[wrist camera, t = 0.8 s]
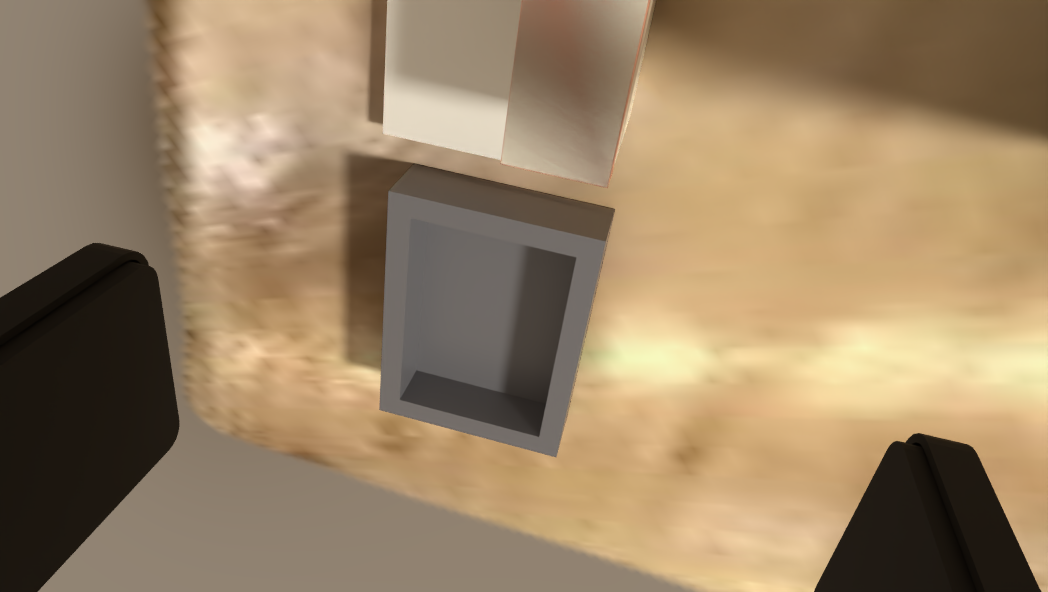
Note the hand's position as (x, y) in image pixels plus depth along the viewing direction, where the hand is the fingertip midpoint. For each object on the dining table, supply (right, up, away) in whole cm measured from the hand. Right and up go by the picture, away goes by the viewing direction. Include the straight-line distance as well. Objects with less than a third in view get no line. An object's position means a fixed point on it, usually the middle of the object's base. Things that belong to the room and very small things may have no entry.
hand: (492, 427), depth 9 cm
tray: (-1, +1, +26) cm, 26 cm away
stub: (+3, +12, +18) cm, 22 cm away
